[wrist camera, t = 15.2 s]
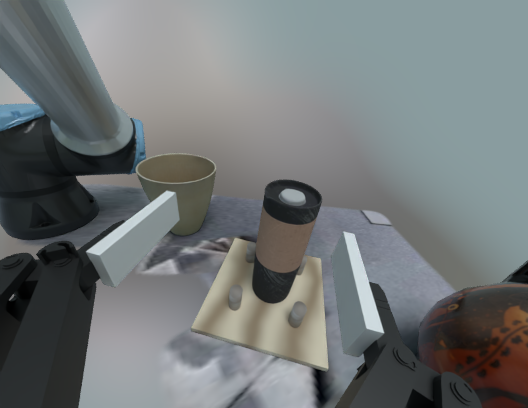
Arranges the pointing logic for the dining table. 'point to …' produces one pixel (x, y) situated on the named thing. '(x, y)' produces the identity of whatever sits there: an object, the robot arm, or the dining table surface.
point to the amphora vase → (482, 339)
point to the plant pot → (180, 186)
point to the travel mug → (283, 237)
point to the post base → (267, 311)
